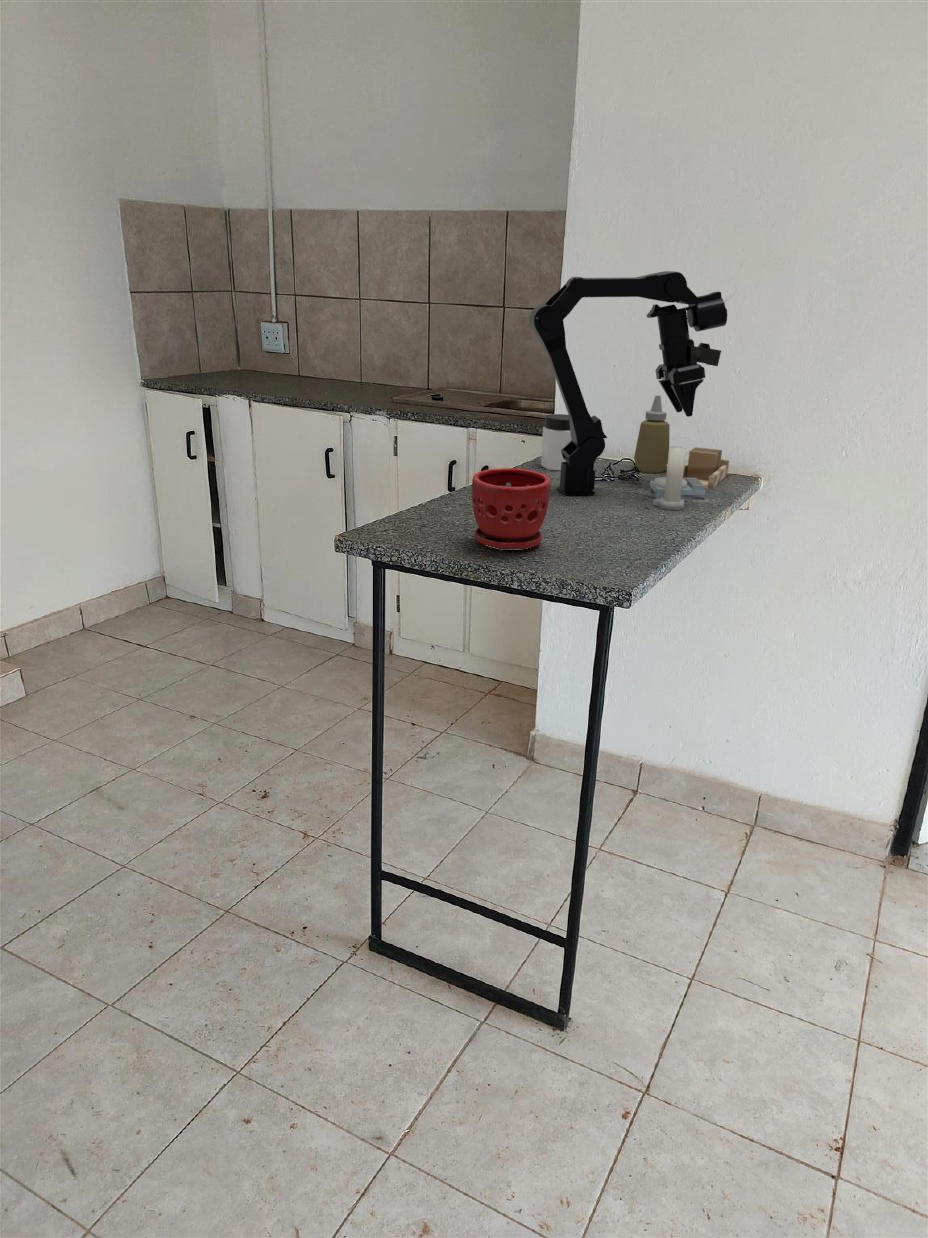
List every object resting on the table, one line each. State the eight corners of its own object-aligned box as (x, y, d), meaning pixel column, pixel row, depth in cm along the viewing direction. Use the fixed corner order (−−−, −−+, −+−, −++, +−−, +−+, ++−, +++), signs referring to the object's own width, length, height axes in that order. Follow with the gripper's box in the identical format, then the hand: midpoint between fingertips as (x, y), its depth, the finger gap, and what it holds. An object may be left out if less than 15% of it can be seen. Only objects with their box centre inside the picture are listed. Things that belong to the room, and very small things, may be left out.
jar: (560, 472, 209) (563, 420, 205) (534, 466, 215) (536, 416, 210) (584, 467, 215) (588, 417, 211) (558, 462, 221) (561, 412, 216)
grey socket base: (656, 498, 188) (658, 484, 187) (649, 489, 195) (650, 476, 194) (704, 499, 188) (706, 485, 187) (694, 490, 195) (696, 477, 194)
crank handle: (687, 506, 182) (694, 447, 178) (678, 511, 178) (685, 451, 174) (658, 502, 185) (664, 444, 181) (649, 507, 181) (655, 447, 177)
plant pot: (455, 541, 155) (456, 472, 151) (513, 530, 163) (516, 464, 158) (503, 560, 146) (506, 488, 141) (562, 547, 153) (567, 478, 149)
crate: (713, 480, 200) (716, 454, 198) (686, 477, 203) (689, 451, 201) (718, 476, 205) (722, 449, 203) (692, 472, 208) (695, 447, 206)
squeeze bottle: (627, 470, 213) (634, 393, 207) (659, 470, 215) (667, 393, 208) (639, 478, 206) (647, 398, 199) (673, 477, 207) (681, 398, 201)
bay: (711, 493, 193) (714, 472, 192) (670, 488, 197) (672, 467, 195) (726, 479, 207) (729, 460, 205) (687, 474, 211) (690, 455, 209)
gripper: (727, 328, 171) (735, 410, 176) (703, 327, 189) (711, 402, 194) (669, 340, 172) (679, 421, 177) (650, 339, 190) (660, 412, 195)
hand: (684, 413), depth 186 cm, fingers open, 9 cm apart
